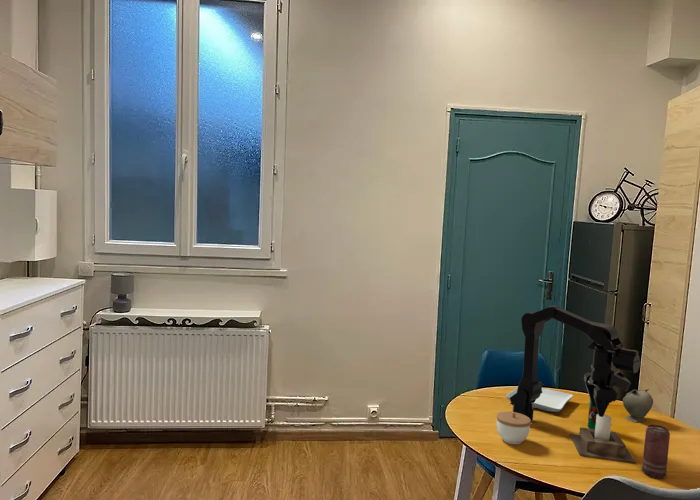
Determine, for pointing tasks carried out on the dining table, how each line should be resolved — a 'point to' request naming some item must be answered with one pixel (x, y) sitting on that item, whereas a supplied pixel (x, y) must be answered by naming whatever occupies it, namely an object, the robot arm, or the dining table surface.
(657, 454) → the can
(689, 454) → the dining table surface
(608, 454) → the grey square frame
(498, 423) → the lidded jar
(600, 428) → the cream peg
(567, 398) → the salad plate
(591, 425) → the soda can
